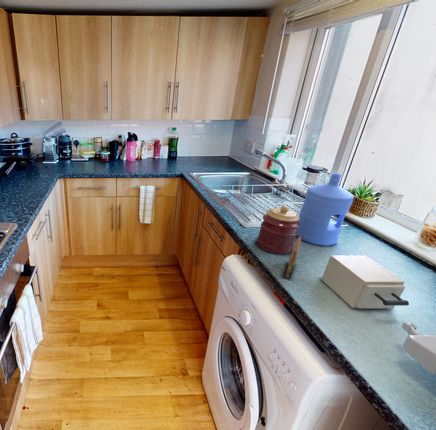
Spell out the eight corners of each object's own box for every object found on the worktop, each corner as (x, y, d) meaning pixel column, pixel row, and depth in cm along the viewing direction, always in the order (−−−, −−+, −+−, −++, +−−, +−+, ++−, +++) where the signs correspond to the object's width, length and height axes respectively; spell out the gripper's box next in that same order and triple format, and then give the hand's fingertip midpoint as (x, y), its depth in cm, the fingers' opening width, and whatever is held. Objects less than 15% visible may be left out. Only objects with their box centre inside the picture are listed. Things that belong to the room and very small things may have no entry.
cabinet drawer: (407, 319, 79) (420, 297, 76) (371, 319, 79) (383, 297, 76) (359, 281, 94) (368, 261, 91) (328, 281, 94) (336, 261, 91)
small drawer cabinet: (390, 307, 85) (405, 281, 81) (352, 307, 84) (365, 281, 80) (354, 279, 97) (365, 255, 93) (321, 279, 97) (330, 255, 93)
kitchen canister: (298, 248, 115) (311, 208, 107) (281, 258, 108) (294, 216, 100) (266, 235, 124) (277, 197, 117) (249, 243, 118) (259, 204, 110)
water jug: (291, 239, 122) (312, 175, 110) (295, 225, 134) (314, 167, 122) (336, 250, 114) (363, 183, 102) (336, 235, 126) (360, 173, 114)
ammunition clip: (288, 263, 105) (297, 234, 100) (294, 264, 104) (303, 236, 99) (283, 277, 97) (293, 246, 92) (289, 279, 96) (300, 248, 91)
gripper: (551, 365, 57) (470, 314, 70) (452, 366, 56) (389, 314, 69) (531, 385, 60) (457, 333, 72) (437, 387, 59) (379, 334, 72)
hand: (423, 324), depth 71 cm, fingers open, 8 cm apart
